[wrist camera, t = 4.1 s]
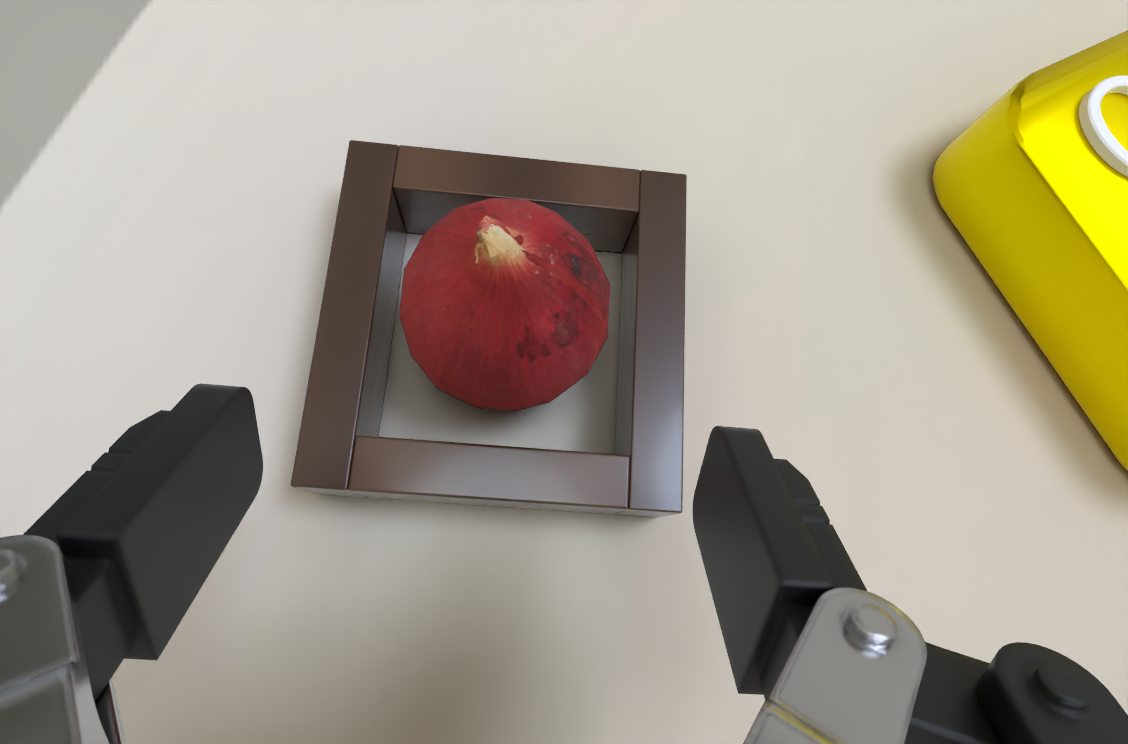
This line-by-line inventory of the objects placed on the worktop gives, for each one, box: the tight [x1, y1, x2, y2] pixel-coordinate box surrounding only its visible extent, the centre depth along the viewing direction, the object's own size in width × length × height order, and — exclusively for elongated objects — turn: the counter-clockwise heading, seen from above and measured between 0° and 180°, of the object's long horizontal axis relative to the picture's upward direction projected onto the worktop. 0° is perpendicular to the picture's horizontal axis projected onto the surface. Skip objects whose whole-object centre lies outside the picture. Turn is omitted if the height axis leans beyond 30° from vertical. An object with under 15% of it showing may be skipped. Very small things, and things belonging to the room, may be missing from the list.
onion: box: [400, 198, 610, 411], centre depth 18 cm, size 6×6×8 cm
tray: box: [291, 140, 687, 517], centre depth 20 cm, size 11×11×3 cm
